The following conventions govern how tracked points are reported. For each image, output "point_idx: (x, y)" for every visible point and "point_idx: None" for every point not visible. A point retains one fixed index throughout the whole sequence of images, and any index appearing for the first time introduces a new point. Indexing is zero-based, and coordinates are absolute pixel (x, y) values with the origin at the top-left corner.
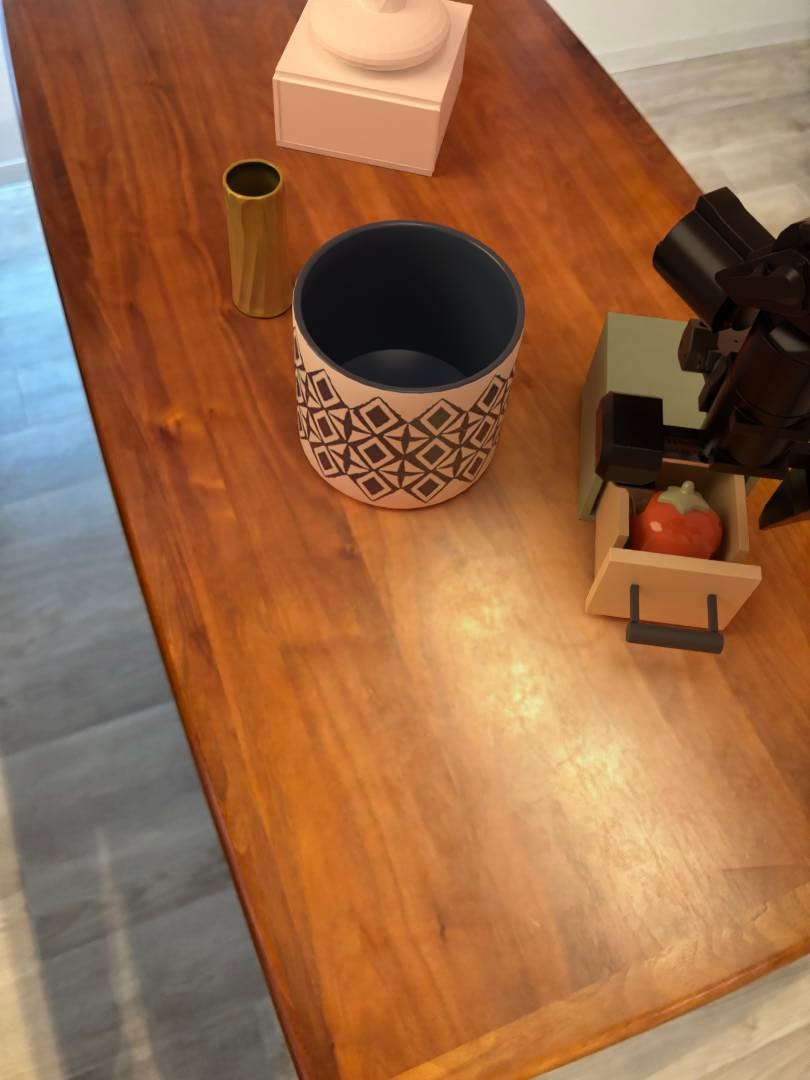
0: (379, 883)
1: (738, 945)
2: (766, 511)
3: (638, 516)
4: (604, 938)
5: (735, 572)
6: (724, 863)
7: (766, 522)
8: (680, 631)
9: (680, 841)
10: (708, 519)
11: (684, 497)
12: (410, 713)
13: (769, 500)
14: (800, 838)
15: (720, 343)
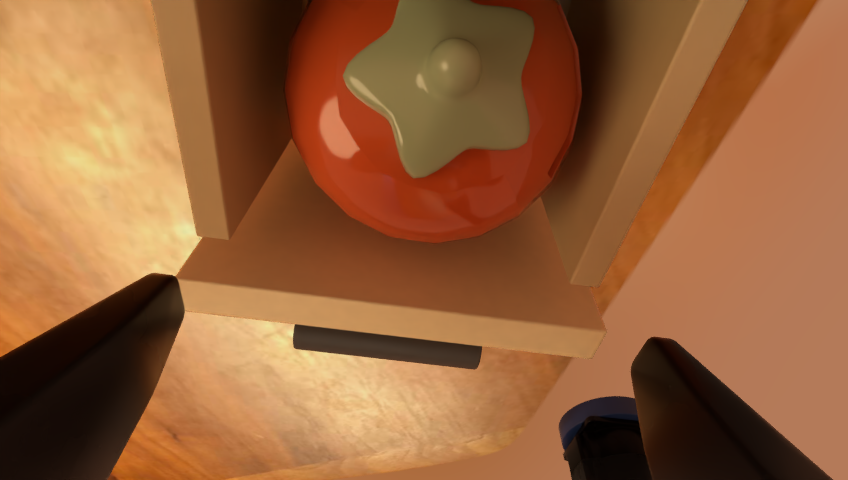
0: None
1: (447, 453)
2: (676, 423)
3: (289, 110)
4: (324, 445)
5: (527, 345)
6: (450, 412)
7: (650, 441)
8: (394, 350)
9: (407, 397)
10: (510, 177)
11: (429, 115)
12: (49, 281)
13: (716, 431)
14: (542, 400)
15: None
